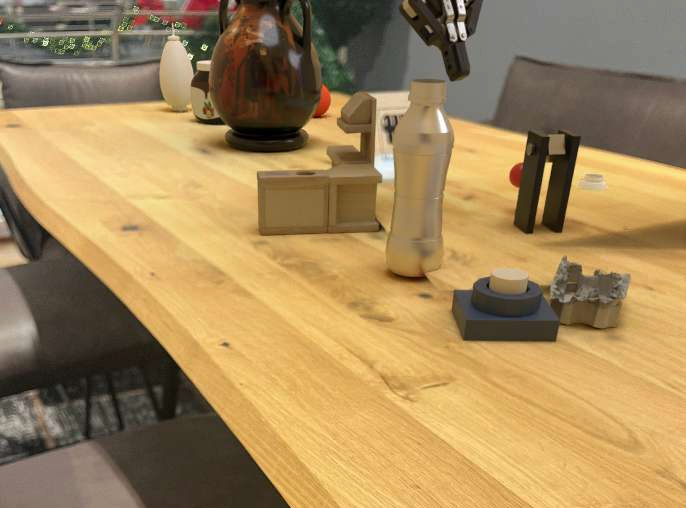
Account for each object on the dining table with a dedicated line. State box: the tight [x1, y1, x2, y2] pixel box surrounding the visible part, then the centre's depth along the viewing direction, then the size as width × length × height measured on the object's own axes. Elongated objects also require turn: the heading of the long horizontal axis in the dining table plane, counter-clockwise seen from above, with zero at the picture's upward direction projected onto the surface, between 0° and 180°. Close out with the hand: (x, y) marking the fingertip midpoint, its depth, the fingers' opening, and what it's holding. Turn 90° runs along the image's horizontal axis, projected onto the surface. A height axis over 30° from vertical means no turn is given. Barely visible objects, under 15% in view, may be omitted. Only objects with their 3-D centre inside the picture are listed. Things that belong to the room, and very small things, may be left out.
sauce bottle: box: [158, 22, 195, 113], centre depth 177 cm, size 8×8×18 cm
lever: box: [508, 133, 565, 189], centre depth 100 cm, size 12×3×3 cm
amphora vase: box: [208, 0, 323, 152], centre depth 142 cm, size 22×22×28 cm
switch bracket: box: [513, 129, 582, 235], centre depth 98 cm, size 7×7×13 cm
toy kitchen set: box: [256, 91, 383, 236], centre depth 105 cm, size 18×17×15 cm
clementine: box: [312, 83, 332, 118], centre depth 176 cm, size 8×7×7 cm
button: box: [489, 267, 530, 295], centre depth 74 cm, size 4×4×2 cm
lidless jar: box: [576, 173, 608, 192], centre depth 119 cm, size 5×3×5 cm
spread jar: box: [190, 59, 226, 125], centre depth 168 cm, size 12×11×12 cm
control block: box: [451, 275, 561, 343], centre depth 76 cm, size 9×8×4 cm
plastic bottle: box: [384, 78, 456, 278], centre depth 83 cm, size 6×7×20 cm
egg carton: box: [549, 255, 631, 329], centre depth 79 cm, size 11×8×4 cm
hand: (460, 78), depth 94 cm, fingers closed
